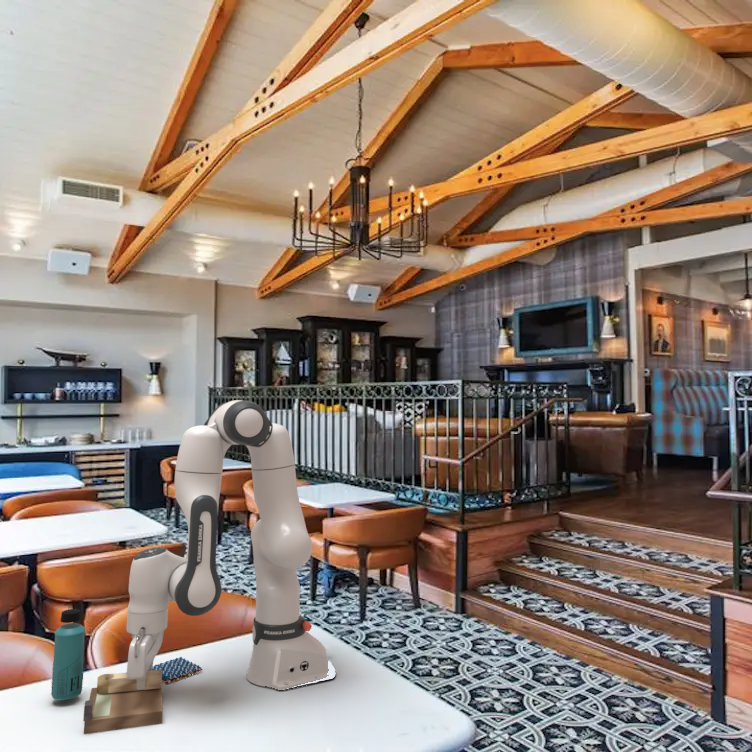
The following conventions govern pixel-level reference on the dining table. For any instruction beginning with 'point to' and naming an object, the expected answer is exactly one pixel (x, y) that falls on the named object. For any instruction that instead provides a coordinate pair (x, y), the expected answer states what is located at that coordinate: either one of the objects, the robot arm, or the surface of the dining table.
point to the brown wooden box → (122, 710)
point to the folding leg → (127, 682)
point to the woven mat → (176, 669)
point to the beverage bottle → (68, 657)
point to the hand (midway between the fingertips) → (144, 683)
